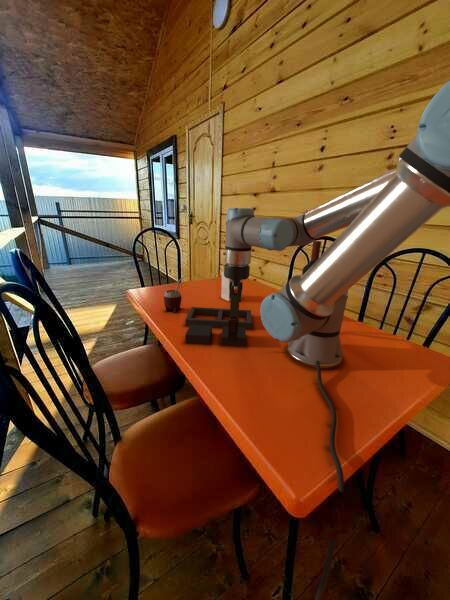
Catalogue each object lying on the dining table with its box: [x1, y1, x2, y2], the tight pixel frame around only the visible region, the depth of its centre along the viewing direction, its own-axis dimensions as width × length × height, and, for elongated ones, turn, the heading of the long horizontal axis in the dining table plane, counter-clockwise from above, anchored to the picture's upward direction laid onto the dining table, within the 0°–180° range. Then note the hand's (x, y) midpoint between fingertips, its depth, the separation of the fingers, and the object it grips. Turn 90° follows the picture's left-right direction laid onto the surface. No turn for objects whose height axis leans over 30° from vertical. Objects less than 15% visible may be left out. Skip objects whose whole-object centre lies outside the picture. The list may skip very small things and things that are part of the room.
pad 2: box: [220, 326, 247, 348], centre depth 82 cm, size 8×8×3 cm
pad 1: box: [185, 325, 213, 346], centre depth 82 cm, size 8×8×3 cm
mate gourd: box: [163, 275, 187, 314], centre depth 102 cm, size 8×8×15 cm
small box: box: [220, 270, 244, 302], centre depth 120 cm, size 8×6×13 cm
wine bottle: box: [301, 240, 322, 275], centre depth 98 cm, size 8×8×30 cm
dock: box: [185, 306, 253, 331], centre depth 96 cm, size 13×24×2 cm, turn 87°
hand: (233, 329), depth 81 cm, fingers open, 13 cm apart
